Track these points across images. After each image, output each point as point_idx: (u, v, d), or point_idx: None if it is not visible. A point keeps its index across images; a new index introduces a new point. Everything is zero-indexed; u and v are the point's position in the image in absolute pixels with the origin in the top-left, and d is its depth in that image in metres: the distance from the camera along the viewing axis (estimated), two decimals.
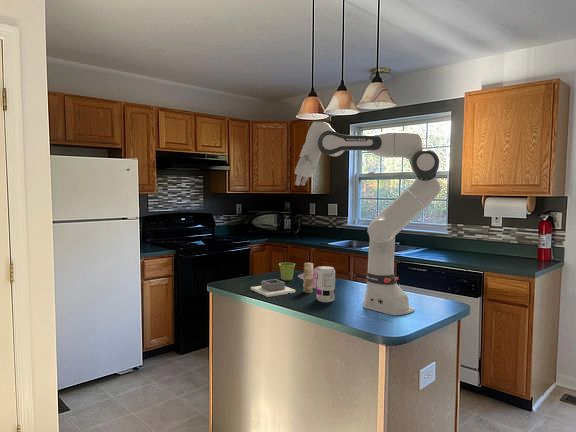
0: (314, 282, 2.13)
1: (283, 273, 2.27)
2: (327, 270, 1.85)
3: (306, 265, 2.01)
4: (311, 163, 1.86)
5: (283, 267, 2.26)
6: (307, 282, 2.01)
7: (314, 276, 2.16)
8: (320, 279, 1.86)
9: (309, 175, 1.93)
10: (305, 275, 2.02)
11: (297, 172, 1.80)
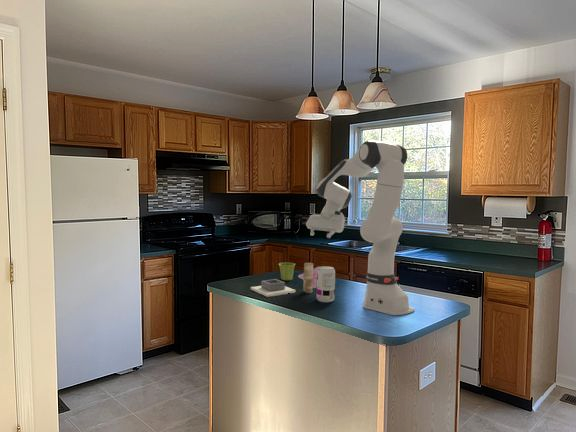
0: (314, 282, 2.13)
1: (283, 273, 2.27)
2: (327, 270, 1.85)
3: (306, 265, 2.01)
4: (322, 216, 2.17)
5: (283, 267, 2.26)
6: (307, 282, 2.01)
7: (314, 276, 2.16)
8: (320, 279, 1.86)
9: (329, 226, 2.11)
10: (305, 275, 2.02)
11: None
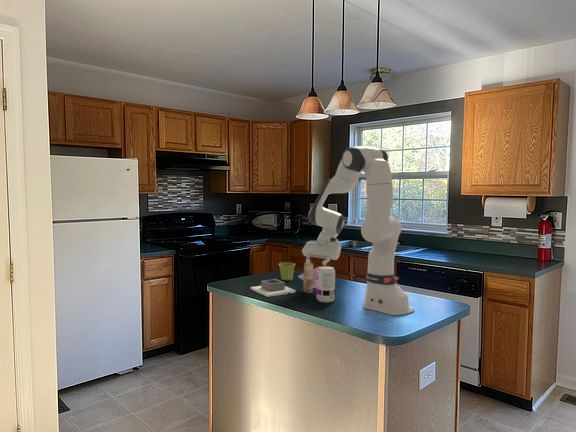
0: (314, 282, 2.13)
1: (283, 273, 2.27)
2: (327, 270, 1.85)
3: (306, 265, 2.01)
4: (318, 243, 2.14)
5: (283, 267, 2.26)
6: (307, 282, 2.01)
7: (314, 276, 2.15)
8: (320, 279, 1.86)
9: (324, 253, 2.08)
10: (305, 275, 2.02)
11: None
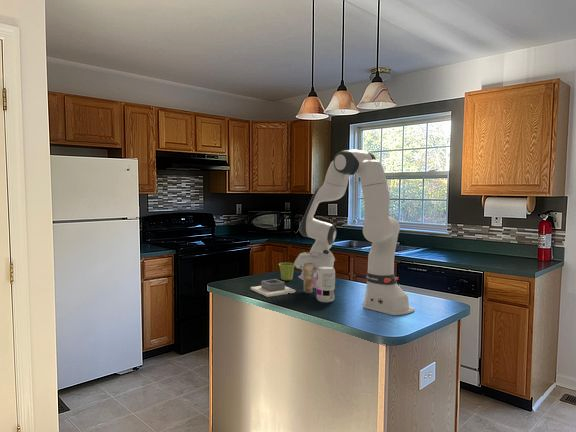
0: (315, 282, 2.12)
1: (283, 273, 2.27)
2: (327, 270, 1.85)
3: (306, 265, 2.01)
4: (311, 255, 2.08)
5: (283, 267, 2.26)
6: (307, 282, 2.01)
7: None
8: (320, 279, 1.86)
9: (317, 266, 2.02)
10: (305, 275, 2.02)
11: None
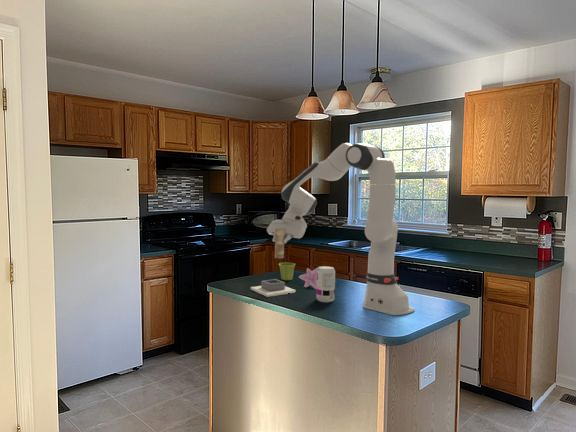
0: (315, 283, 2.12)
1: (283, 273, 2.27)
2: (327, 270, 1.85)
3: (277, 230, 2.01)
4: (283, 221, 2.08)
5: (283, 267, 2.26)
6: (278, 247, 2.01)
7: (315, 277, 2.15)
8: (320, 279, 1.86)
9: (289, 231, 2.02)
10: (276, 240, 2.02)
11: None
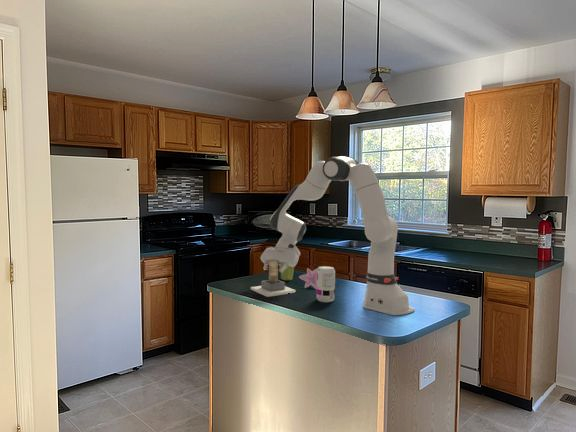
0: (316, 283, 2.11)
1: (283, 273, 2.27)
2: (327, 270, 1.85)
3: (270, 261, 2.02)
4: (276, 249, 2.09)
5: None
6: (271, 278, 2.02)
7: (315, 277, 2.14)
8: (320, 279, 1.86)
9: (282, 260, 2.03)
10: (270, 272, 2.02)
11: None
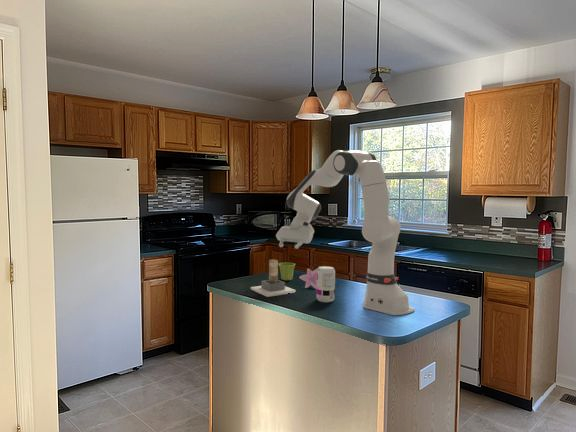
0: (316, 283, 2.11)
1: (283, 273, 2.27)
2: (327, 270, 1.85)
3: (271, 262, 2.02)
4: (291, 227, 2.19)
5: (283, 267, 2.26)
6: (271, 279, 2.02)
7: (316, 277, 2.14)
8: (320, 279, 1.86)
9: (297, 237, 2.13)
10: (270, 272, 2.02)
11: None
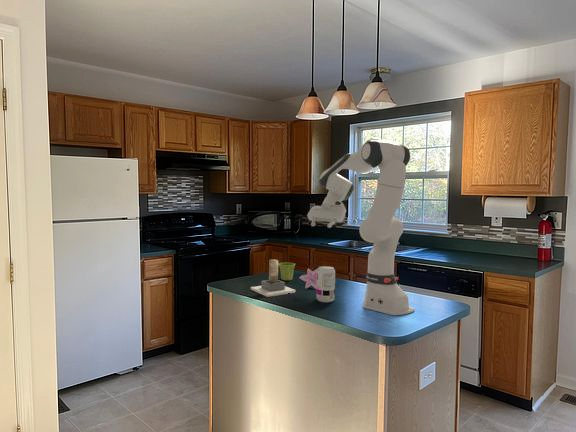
0: (316, 283, 2.11)
1: (283, 273, 2.27)
2: (327, 270, 1.85)
3: (271, 262, 2.02)
4: (323, 207, 2.18)
5: (283, 267, 2.26)
6: (271, 279, 2.02)
7: (316, 277, 2.13)
8: (320, 279, 1.86)
9: (330, 216, 2.12)
10: (270, 272, 2.02)
11: None
